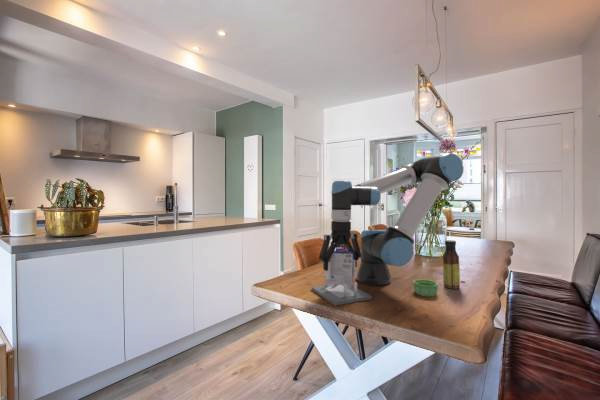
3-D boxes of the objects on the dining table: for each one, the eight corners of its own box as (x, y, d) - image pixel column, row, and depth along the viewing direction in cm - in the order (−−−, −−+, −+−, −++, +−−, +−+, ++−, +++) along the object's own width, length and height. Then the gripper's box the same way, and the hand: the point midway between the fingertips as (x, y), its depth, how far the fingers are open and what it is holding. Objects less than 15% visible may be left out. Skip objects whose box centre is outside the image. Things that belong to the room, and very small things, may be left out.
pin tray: (345, 285, 123) (345, 270, 123) (371, 299, 106) (371, 282, 106) (311, 289, 116) (311, 274, 116) (334, 305, 100) (334, 287, 100)
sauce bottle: (459, 286, 122) (459, 240, 122) (460, 290, 117) (461, 242, 116) (442, 284, 125) (442, 239, 125) (442, 288, 119) (443, 241, 119)
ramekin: (425, 288, 119) (425, 278, 119) (443, 295, 111) (443, 284, 111) (408, 291, 116) (408, 280, 116) (425, 298, 107) (425, 287, 107)
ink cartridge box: (353, 281, 113) (353, 245, 113) (353, 286, 107) (353, 247, 107) (328, 279, 115) (328, 244, 115) (326, 284, 109) (327, 246, 109)
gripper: (319, 222, 103) (318, 283, 103) (371, 220, 112) (370, 276, 112) (310, 220, 109) (309, 277, 110) (359, 219, 119) (359, 271, 119)
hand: (340, 277), depth 111 cm, fingers closed on ink cartridge box, 11 cm apart
